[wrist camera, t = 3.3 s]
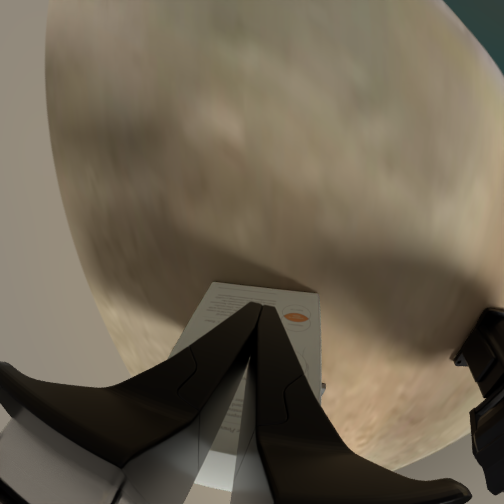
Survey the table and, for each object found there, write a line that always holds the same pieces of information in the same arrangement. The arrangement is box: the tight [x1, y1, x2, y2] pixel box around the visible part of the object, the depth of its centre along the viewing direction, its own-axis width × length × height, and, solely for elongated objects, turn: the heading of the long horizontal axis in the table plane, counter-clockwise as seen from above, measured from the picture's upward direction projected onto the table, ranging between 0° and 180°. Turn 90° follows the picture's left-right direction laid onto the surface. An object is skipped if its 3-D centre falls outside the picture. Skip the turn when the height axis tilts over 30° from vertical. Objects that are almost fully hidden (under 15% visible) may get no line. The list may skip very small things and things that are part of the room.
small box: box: [168, 282, 321, 492], centre depth 16 cm, size 8×6×13 cm
